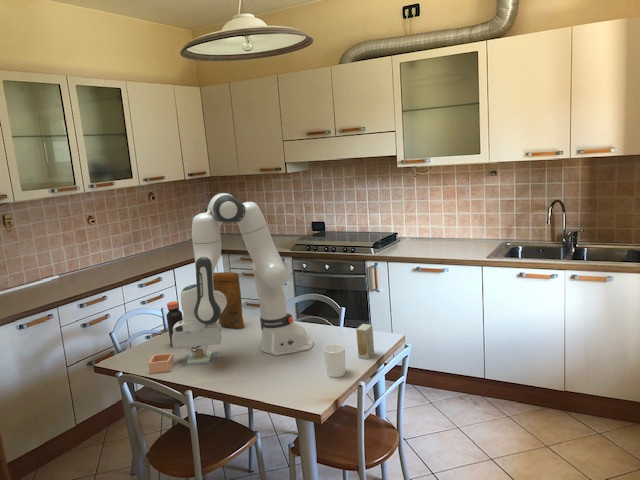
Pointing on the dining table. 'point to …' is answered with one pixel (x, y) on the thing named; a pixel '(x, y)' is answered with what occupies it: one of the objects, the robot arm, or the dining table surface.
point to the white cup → (335, 360)
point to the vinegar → (173, 317)
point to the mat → (212, 360)
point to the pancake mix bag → (230, 299)
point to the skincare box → (365, 341)
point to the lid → (199, 357)
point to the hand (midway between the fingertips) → (199, 355)
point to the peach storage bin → (161, 363)
